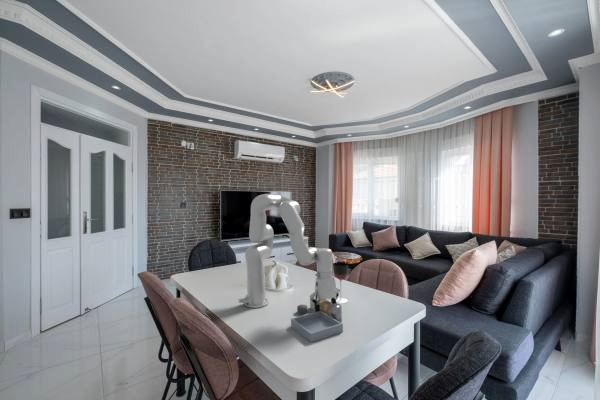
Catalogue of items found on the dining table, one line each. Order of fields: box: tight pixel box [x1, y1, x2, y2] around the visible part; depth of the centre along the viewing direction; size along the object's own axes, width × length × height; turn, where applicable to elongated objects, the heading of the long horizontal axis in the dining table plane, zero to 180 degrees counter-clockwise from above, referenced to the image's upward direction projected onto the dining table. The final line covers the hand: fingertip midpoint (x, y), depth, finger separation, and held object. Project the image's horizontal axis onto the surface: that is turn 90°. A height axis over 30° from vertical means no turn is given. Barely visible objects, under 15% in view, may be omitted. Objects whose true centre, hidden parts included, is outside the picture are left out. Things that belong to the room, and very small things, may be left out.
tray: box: [290, 311, 344, 343], centre depth 117 cm, size 16×16×3 cm
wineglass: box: [332, 261, 349, 304], centre depth 149 cm, size 8×9×20 cm
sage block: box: [309, 296, 316, 311], centre depth 139 cm, size 5×5×5 cm
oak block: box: [319, 299, 333, 317], centre depth 131 cm, size 4×6×6 cm
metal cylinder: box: [330, 303, 343, 323], centre depth 124 cm, size 5×5×7 cm
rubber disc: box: [296, 304, 309, 316], centre depth 134 cm, size 5×5×3 cm
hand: (325, 309), depth 131 cm, fingers open, 9 cm apart
